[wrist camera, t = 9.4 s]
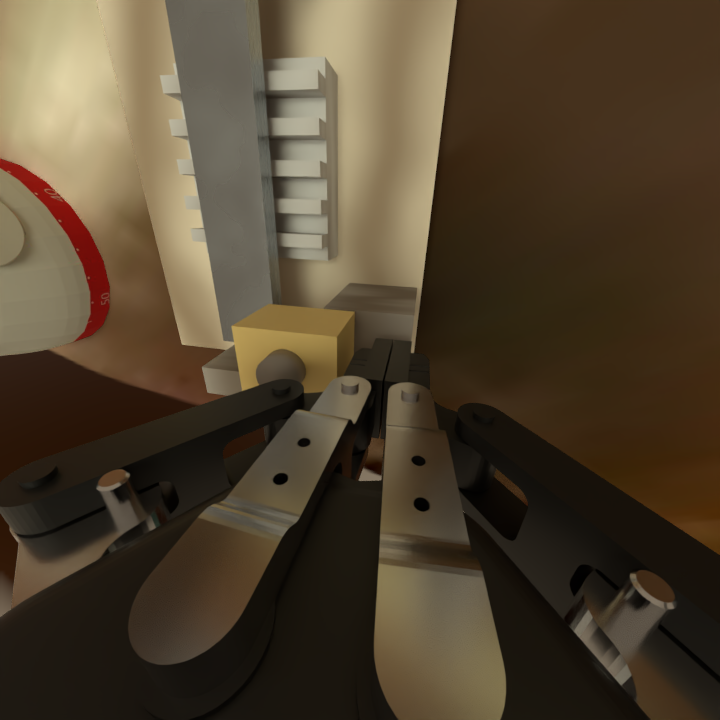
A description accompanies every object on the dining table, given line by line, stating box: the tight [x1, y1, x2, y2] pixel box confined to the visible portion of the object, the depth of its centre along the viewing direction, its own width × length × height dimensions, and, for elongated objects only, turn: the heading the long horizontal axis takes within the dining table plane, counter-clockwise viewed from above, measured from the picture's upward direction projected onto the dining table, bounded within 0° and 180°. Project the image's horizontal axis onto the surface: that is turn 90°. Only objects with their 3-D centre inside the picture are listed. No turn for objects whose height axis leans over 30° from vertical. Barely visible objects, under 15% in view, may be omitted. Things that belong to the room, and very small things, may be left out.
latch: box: [231, 304, 355, 393], centre depth 13 cm, size 4×3×4 cm
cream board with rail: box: [96, 0, 457, 396], centre depth 15 cm, size 17×22×8 cm
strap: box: [165, 0, 282, 342], centre depth 13 cm, size 3×17×1 cm, turn 178°
